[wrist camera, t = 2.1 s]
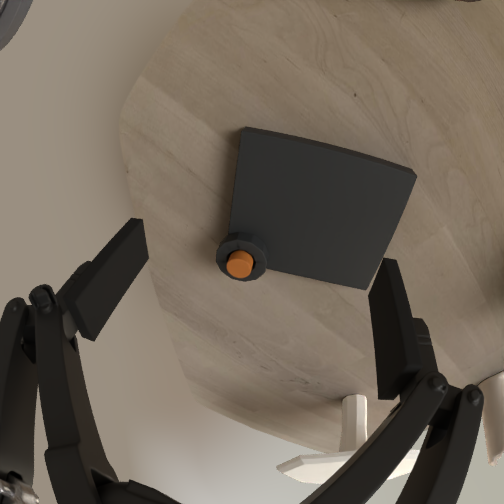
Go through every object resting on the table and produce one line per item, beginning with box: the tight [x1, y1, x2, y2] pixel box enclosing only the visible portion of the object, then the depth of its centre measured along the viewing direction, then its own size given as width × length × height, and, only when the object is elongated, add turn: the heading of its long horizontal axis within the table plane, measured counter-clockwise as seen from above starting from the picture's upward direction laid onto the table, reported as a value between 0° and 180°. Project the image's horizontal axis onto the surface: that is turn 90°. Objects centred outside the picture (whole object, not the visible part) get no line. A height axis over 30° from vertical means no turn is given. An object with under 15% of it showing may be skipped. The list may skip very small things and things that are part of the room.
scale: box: [216, 127, 417, 290], centre depth 30 cm, size 18×16×4 cm
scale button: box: [227, 250, 253, 278], centre depth 32 cm, size 3×3×2 cm
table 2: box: [276, 394, 420, 484], centre depth 46 cm, size 28×28×17 cm
